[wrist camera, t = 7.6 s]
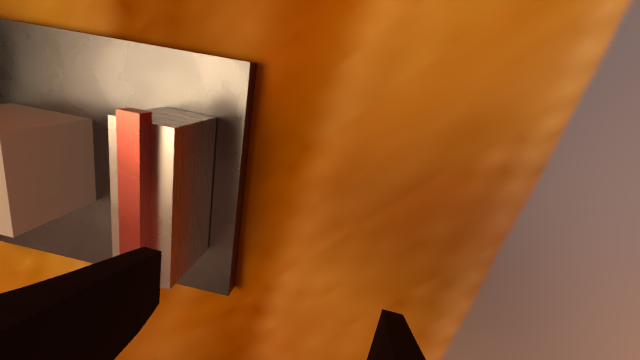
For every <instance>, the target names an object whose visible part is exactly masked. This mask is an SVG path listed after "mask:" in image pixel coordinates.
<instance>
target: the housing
mask: <svg viewBox="0 0 640 360" xmlns="http://www.w3.org/2000/svg"><path fill="white" fill-rule="evenodd" d="M94 201H96V188H95V167H94V146H93V126H92V119H90V118H85V117H80V116H75V115H70V114H65V113H60V112H55V111H50V110H45V109H40V108H35V107H30V106H25V105H20V104H15V103H7V104H0V235H5V236H9V237H13V238H14V237H16V236H18V235H21V234H23V233H25V232H27V231H29V230H32V229H34V228H36V227H38V226H41V225H43V224H45V223H47V222H50V221H52V220H54V219H56V218H58V217H61V216H63V215H65V214H67V213H70V212H72V211H74V210H76V209H78V208H81V207H83V206H85V205H87V204H90V203H92V202H94Z"/></svg>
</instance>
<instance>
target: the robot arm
mask: <svg viewBox="0 0 640 360" xmlns="http://www.w3.org/2000/svg"><path fill="white" fill-rule="evenodd" d="M161 257H162V251H159V250H155V249H151V248H147V247H142V248H138V249H135V250H132V251H129V252H126V253H123V254H120V255H117V256H114V257H111V258H109V259H106V260H103V261H100V262H97V263H95V264H92V265H89V266H86V267H83V268H81V269H78V270H75V271H72V272H69V273H66V274H63V275H60V276H57V277H54V278H50V279H47V280H44V281H41V282H38V283H35V284H32V285H29V286H25V287H22V288H18V289H15V290H11V291H8V292H4V293H0V360H114V359H115V358H116V357H117V356H118V355H119V353H120V352H121V351H122V350H123V349H124V348H125V347H126V346H127V345H128V343H129V342H130V341H131V340H132V339H133V338H134V337H135V336H136V335H137V333H138V332H139V331H140V330H141V328H142V327H143V326H144V324H145V323H146V322H147V320H148V319H149V317H150V316H151V315H152V313H153V312H154V310H155V309H156V307H157V306H158V304H159V297H160V277H161ZM367 360H426V359H425V357H424V355H423V354H422V352H421V350H420V348H419V346H418V344H417V342H416V340H415V338H414V336H413V334H412V332H411V330H410V328H409V326H408V324H407V322H406V320H405V318H404V316H403V315H402V314H398V313H395V312H391V311H387V310H383V309H382V312H381V316H380V319H379V322H378V325H377V329H376V332H375V335H374V338H373V342H372V345H371V348H370V351H369V355H368V358H367Z"/></svg>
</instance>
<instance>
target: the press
mask: <svg viewBox="0 0 640 360" xmlns="http://www.w3.org/2000/svg"><path fill="white" fill-rule="evenodd" d="M256 65H257V63H253V62H248V61H242V60H236V59H231V58H225V57H219V56H213V55H208V54H202V53H196V52H191V51H185V50H179V49H173V48H168V47H162V46H156V45H151V44H145V43H139V42H133V41H128V40H122V39H116V38H111V37H105V36H99V35H93V34H88V33H82V32H76V31H71V30H65V29H59V28H53V27H48V26H42V25H36V24H31V23H25V22H19V21H14V20H8V19H2V18H0V104H7V103H15V104H20V105H25V106H30V107H35V108H40V109H45V110H50V111H55V112H60V113H65V114H70V115H75V116H80V117H85V118H90V119H92V126H93V146H94V167H95V188H96V201H94V202H92V203H90V204H87V205H85V206H83V207H81V208H78V209H76V210H74V211H72V212H70V213H67V214H65V215H63V216H61V217H58V218H56V219H54V220H52V221H50V222H47V223H45V224H43V225H41V226H38V227H36V228H34V229H32V230H29V231H27V232H25V233H23V234H21V235H18V236H16V237H14V238H13V237H9V236H5V235H0V241H4V242H8V243H12V244H16V245H20V246H25V247H29V248H33V249H37V250H41V251H45V252H49V253H53V254H57V255H62V256H66V257H70V258H74V259H78V260H82V261H86V262H90V263H97V262H100V261H103V260H106V259H109V258H111V257H113V253H112V223H111V194H110V164H109V135H108V115H111V114H116V109H120V108H128V107H131V108H136V109H141V110H145V109H152V108H159V107H167V108H172V109H177V110H182V111H188V112H193V113H198V114H203V115H208V116H213V117H217V119H216V134H215V149H214V164H213V178H212V193H211V208H210V223H209V238H208V250H207V251H206V252H205V253H204V254H203V255H202V256H201V257H200V258H199V259H198V260H197V262H196V263H195V264H194V265H193V266H192V267H191V268H190V269H189V270H188V271H187V272H186V273H185V274H184V275H183V276H182V277H181V278H180V279H179V280H178V281H177V284H181V285H185V286H189V287H193V288H197V289H202V290H206V291H210V292H214V293H218V294H222V295H226V296H229V294H230V293H231V291H232V290H233V288H234V287H235V276H236V266H237V256H238V246H239V236H240V226H241V216H242V206H243V196H244V186H245V176H246V166H247V156H248V146H249V135H250V125H251V115H252V105H253V95H254V85H255V75H256Z"/></svg>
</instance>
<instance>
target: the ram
mask: <svg viewBox="0 0 640 360" xmlns="http://www.w3.org/2000/svg"><path fill="white" fill-rule="evenodd" d="M216 119H217V117H213V116H208V115H203V114H198V113H193V112H188V111H182V110H177V109H172V108H167V107H159V108H152V109H145V110H141V109H136V108H131V107H128V108H120V109H116V114H111V115H108V135H109V164H110V194H111V223H112V253H113V257H114V256H117V255H120V254H123V253H126V252H129V251H132V250H135V249H138V248H142V247H147V248H151V249H155V250H159V251H162V257H161V277H160V287H162V288H166V289H171V288H172V287H173V286H174V285H175V284H176V283H177V281H178V280H179V279H180V278H181V277H182V276H183V275H184V274H185V273H186V272H187V271H188V270H189V269H190V268H191V267H192V266H193V265H194V264H195V263H196V262H197V260H198V259H199V258H200V257H201V256H202V255H203V254H204V253H205V252H206V251H207V250H208V238H209V223H210V208H211V193H212V178H213V164H214V149H215V134H216Z"/></svg>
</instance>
